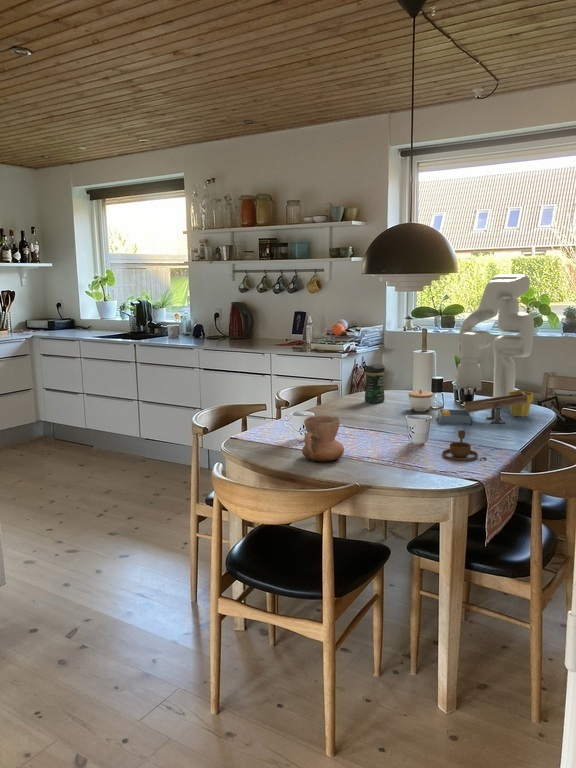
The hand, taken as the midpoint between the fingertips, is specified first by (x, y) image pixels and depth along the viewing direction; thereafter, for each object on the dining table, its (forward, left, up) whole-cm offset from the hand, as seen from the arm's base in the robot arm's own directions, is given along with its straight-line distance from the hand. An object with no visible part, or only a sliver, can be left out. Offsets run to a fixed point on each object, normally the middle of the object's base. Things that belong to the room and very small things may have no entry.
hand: (467, 403), depth 271 cm
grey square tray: (+9, -7, -6) cm, 12 cm away
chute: (+4, +10, +1) cm, 11 cm away
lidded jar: (-11, -20, -6) cm, 23 cm away
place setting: (+57, -7, -7) cm, 58 cm away
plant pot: (-3, +22, -6) cm, 23 cm away
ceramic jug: (+67, -57, -6) cm, 88 cm away
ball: (+9, -10, -3) cm, 14 cm away
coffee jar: (-27, -41, -6) cm, 49 cm away
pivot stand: (+9, +10, -6) cm, 15 cm away
